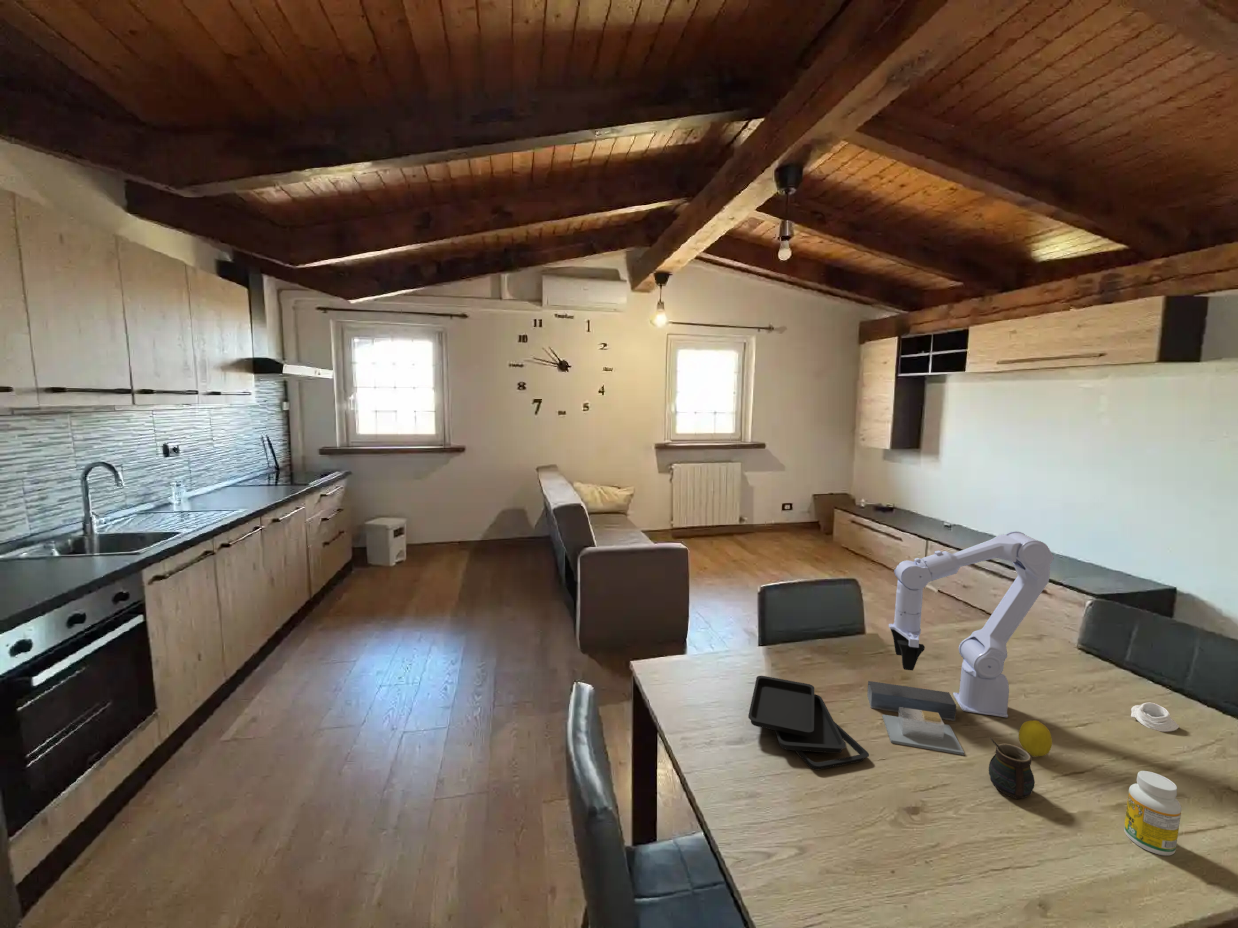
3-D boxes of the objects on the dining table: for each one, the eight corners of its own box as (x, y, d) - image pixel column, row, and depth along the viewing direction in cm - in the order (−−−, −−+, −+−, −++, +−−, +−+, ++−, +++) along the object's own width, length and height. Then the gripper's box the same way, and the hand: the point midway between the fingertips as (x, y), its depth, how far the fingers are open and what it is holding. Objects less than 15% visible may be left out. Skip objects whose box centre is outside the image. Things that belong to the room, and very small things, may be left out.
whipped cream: (1175, 728, 124) (1180, 708, 124) (1178, 739, 119) (1183, 719, 119) (1128, 712, 129) (1133, 693, 129) (1129, 722, 124) (1134, 702, 124)
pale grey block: (936, 729, 120) (938, 710, 120) (942, 741, 116) (944, 721, 115) (897, 722, 123) (899, 704, 122) (902, 734, 118) (903, 715, 118)
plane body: (947, 707, 130) (948, 692, 129) (954, 720, 125) (956, 704, 124) (867, 695, 135) (868, 680, 134) (870, 707, 130) (872, 692, 129)
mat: (949, 727, 122) (949, 724, 122) (963, 755, 113) (964, 752, 112) (882, 716, 126) (882, 714, 126) (890, 742, 116) (891, 740, 116)
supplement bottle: (1177, 863, 86) (1187, 800, 85) (1124, 842, 90) (1133, 781, 89) (1172, 839, 91) (1181, 778, 90) (1121, 820, 95) (1129, 762, 94)
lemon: (1043, 750, 114) (1047, 716, 113) (1054, 767, 109) (1058, 731, 108) (1012, 745, 116) (1016, 710, 115) (1022, 761, 111) (1026, 725, 110)
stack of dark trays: (886, 756, 112) (888, 733, 112) (802, 789, 103) (803, 764, 102) (786, 686, 139) (787, 668, 139) (712, 707, 130) (713, 687, 129)
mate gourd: (1041, 806, 98) (1047, 757, 97) (996, 800, 100) (1001, 751, 99) (1021, 780, 105) (1026, 733, 104) (978, 774, 107) (983, 728, 106)
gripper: (884, 597, 140) (880, 646, 141) (897, 619, 126) (893, 673, 127) (914, 600, 138) (910, 650, 139) (930, 623, 124) (926, 678, 126)
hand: (904, 661), depth 133 cm, fingers open, 7 cm apart
